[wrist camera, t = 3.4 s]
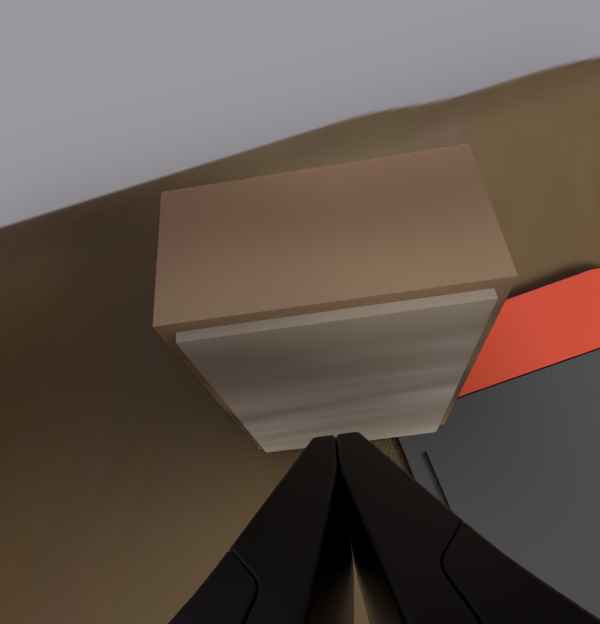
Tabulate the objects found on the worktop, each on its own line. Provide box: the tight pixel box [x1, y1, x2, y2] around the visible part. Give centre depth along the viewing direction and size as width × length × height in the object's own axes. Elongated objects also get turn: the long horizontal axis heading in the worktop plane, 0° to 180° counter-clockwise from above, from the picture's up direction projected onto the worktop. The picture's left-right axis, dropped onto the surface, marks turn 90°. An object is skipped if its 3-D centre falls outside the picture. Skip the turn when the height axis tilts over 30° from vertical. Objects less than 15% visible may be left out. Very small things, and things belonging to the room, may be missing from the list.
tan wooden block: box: [153, 143, 518, 453], centre depth 13 cm, size 3×6×9 cm, turn 95°
